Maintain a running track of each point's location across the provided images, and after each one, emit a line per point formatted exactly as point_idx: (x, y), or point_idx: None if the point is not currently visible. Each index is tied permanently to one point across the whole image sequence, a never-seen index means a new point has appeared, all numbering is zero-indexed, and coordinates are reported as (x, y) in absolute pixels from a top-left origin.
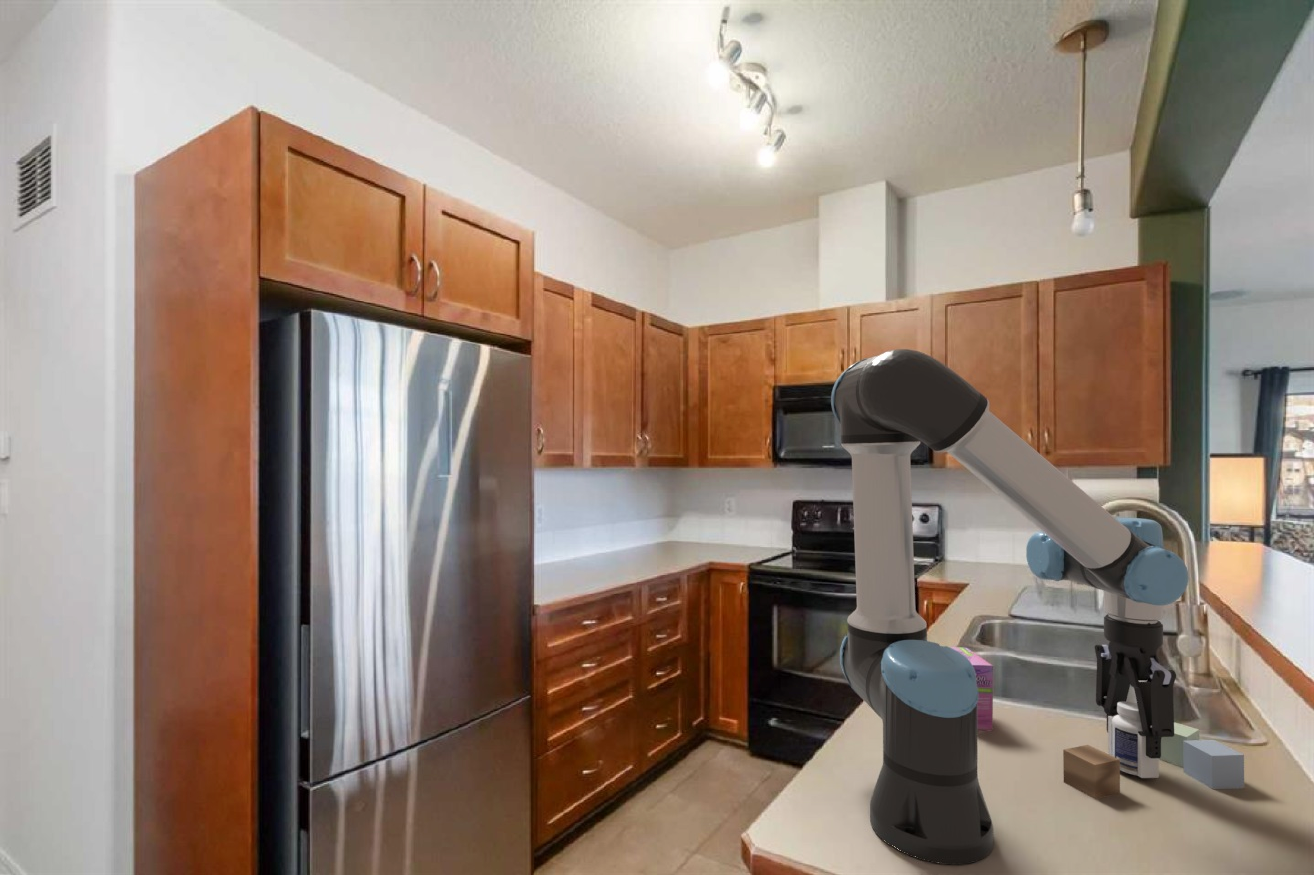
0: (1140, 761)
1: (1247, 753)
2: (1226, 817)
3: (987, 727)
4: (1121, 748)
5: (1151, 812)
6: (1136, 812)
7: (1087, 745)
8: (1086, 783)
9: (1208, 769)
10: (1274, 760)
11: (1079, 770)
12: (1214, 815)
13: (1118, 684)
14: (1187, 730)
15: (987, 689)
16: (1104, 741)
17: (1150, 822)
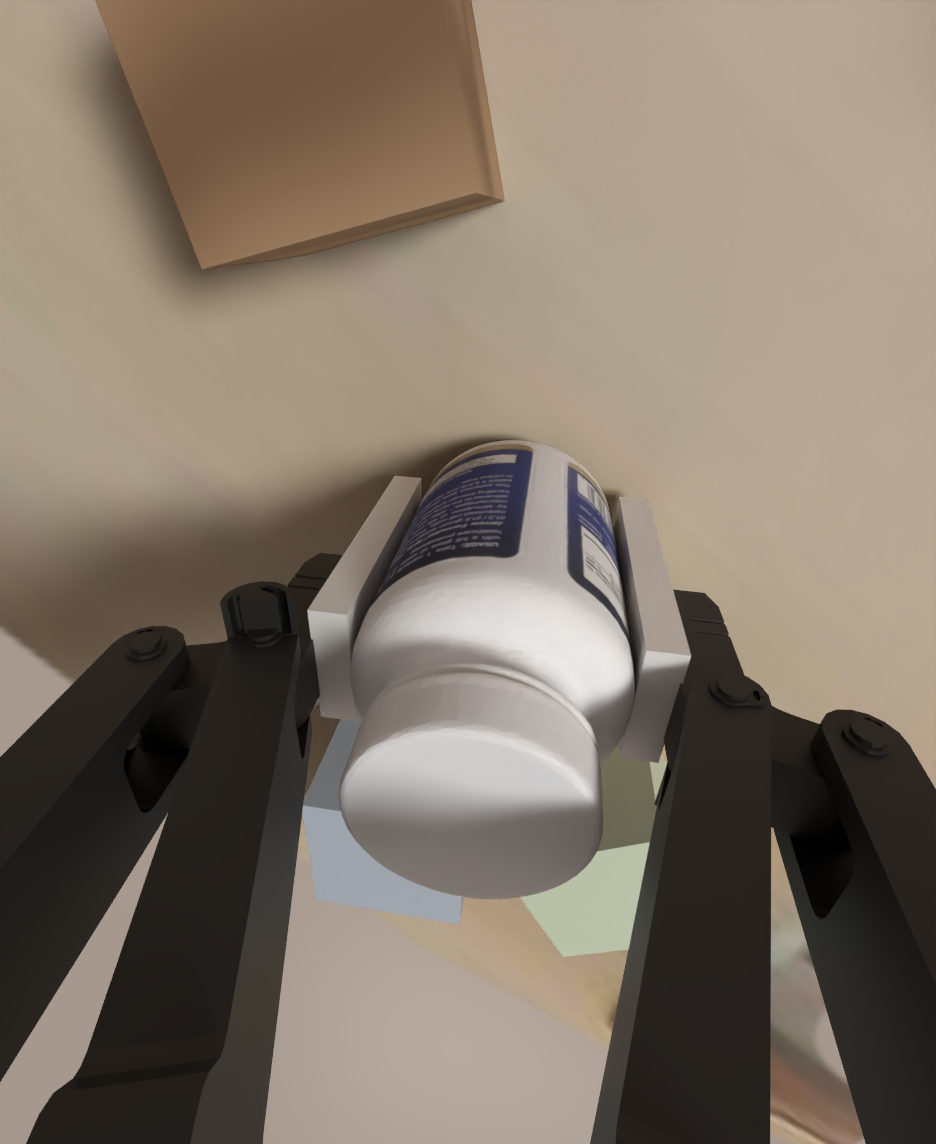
0: (378, 513)
1: (573, 960)
2: (142, 565)
3: None
4: (467, 491)
5: (119, 267)
6: (102, 172)
7: (462, 174)
8: None
9: (345, 749)
10: (518, 972)
11: None
12: (149, 536)
13: (625, 1038)
14: (565, 920)
15: None
16: (847, 650)
17: (11, 168)
